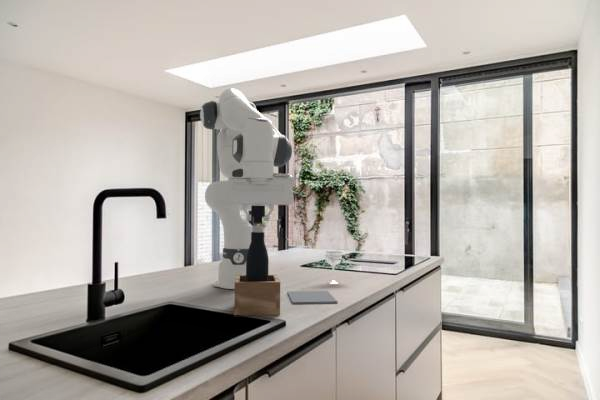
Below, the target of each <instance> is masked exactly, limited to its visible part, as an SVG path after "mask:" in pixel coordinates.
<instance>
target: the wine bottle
mask: <svg viewBox="0 0 600 400" xmlns="http://www.w3.org/2000/svg"><path fill="white" fill-rule="evenodd" d="M265 212H266V209H265V206H251V212H250V215H251V218H252V217H253V225H252V226H253V227H252V228H253V230H252V231H253V232H251V244H250V246H249V249H248V253H247V258H246V282H264V281H268V275H269V263H270V262H269V254H268V250H267V247H266V244H265V232H264V226H263V225H262V224H263V218H265V215H266V214H265Z"/></svg>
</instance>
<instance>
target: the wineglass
mask: <svg viewBox="0 0 600 400" xmlns="http://www.w3.org/2000/svg"><path fill="white" fill-rule="evenodd" d="M324 259H325V262H326V263H327V264H328V265H330V266H331V268H332V270H331V271H332V280H329V281H327V282H326V283H327V284H340V282H339V281H337V280H334V279H335V267H336V265H338V264H340V263H341V261H342V260H343V256H342V251H337V250H334V251H333V250H328V251H325V255H324Z"/></svg>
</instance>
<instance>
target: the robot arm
mask: <svg viewBox="0 0 600 400" xmlns="http://www.w3.org/2000/svg"><path fill="white" fill-rule="evenodd" d="M199 117H200V121H201V124H202V126H203V127H204V128H205V129H206V130H207V129H208V130H213V131H214V130H220V131H219V132H218V134H217V138H216V140H217V141H216V147H217V148H216V149H217V157H218V158H217V159H218V164H219V170H220V172H221V174H222V175H223V176H224V177H225V178H226V179H227V180H220V181H215V182H211V183H210V184H208V186H207V187H206V189H205V191H204V200H205V202H206V205H207V206H208V208H210V209H211V210H213V211H214V212H215V213H216V215H217V216H218V219H220V221H221V224H222V228H223V229H222V230H223V247H222V258H223V259H222V260H221V261H220V262H219V263H218V264H217V265H218V266H217V269H218V271H217V280H216V281H214V282H213V283H212V287H217V288H222V289H229V290H235V278H236V275H246V258H247V253H248V249H249V246H250V244H251V232H253V231H252V230H253V228H252V227H253V226H254V225H252V224H251V223H250V222H251V221H252V217H251V214H249V213H248V212H250V211H251V206H265V210H266V209H269V211H268V212H267V214H265V217H264V221H266V222H270V221H271V215H272V213H273V211H274V207H275V206H291V205H292V204H293V203H294V194H293V193H294V192H293V189H294V187H295V179H294V176H292V175H291V174H289V173H275V169H274V167H277V168H282V167H284V166H285V165H286V164H288V162H289V161H290V160H291V159H292V154H293V147H292V144H291V142H290V140H289V139H288V138H287V136H286V135H285V134H282V133H281V132H280V131H279V130H278V129H277V128H276V126H275V125H274V124H273V122H272V120H270V119H269V118H268V117H266V115H264V114H262V113H261V112H259V110H257V107H256V104H254V102H252V101H249V100H248V99H247V97H246V96H245V95H244V93H243V92H241V91H240V89H239V90H238V89H237V88H231V87H230V88H227V89H225V90H224V91H222V93H220V95H219V99H218V100H217V101H214V100H211V101H207V102H205V103H204V104H203V105H201V109H200V112H199ZM241 211H242V212H244V214H245V219H243V218H242V216H241V214H240V212H241ZM249 221H250V222H249Z"/></svg>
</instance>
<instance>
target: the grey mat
mask: <svg viewBox="0 0 600 400" xmlns="http://www.w3.org/2000/svg"><path fill="white" fill-rule="evenodd" d="M287 295H288V298H289V299H290V301H291V302H290V303H291V304H292V305H311V304H312V305H315V304H317V305H318V304H319V305H321V304H324V305H325V304H338V300H337V299H336V298H335V297H334V296H333V295H332V294H331V293H330V291H329V290H307V291H306V290H305V291H303V290H302V291H301V290H299V291H298V290H297V291H295V290H294V291H291V290H290V291H287Z"/></svg>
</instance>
